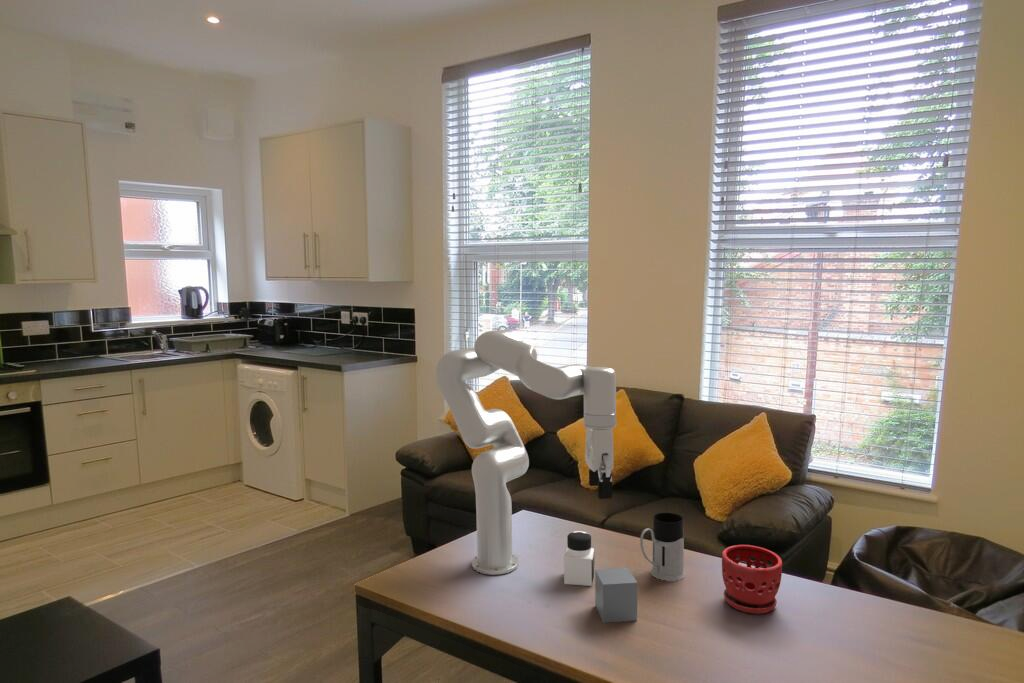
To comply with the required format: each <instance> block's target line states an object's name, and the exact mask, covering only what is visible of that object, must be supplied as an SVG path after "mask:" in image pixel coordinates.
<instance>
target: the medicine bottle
mask: <svg viewBox="0 0 1024 683" xmlns="http://www.w3.org/2000/svg"><path fill="white" fill-rule="evenodd" d="M566 537H567V542H566V543H567V547H566V549H565V552H564V557H563V583H564V585H570V586H571V585H572V586H587V587H592V586H593V584H594V578H595V548H593V547H592V535H591V534H590V533H588V532H587V531H584V530H583V531H581V530H575V531H572V532H570V533H569V534H567V536H566Z"/></svg>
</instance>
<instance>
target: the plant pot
mask: <svg viewBox="0 0 1024 683" xmlns="http://www.w3.org/2000/svg"><path fill="white" fill-rule="evenodd" d="M721 554H722V555H721V573H722V579H723V583H724V587H725V589H724V590H723V597H724V598H723V599H724V600H725V601H726V602H727V604H728V605H730V606H731V607H732V608H734V609H736V610H739V611H740V612H745V613H748V614H756V615H757V614H766V613H769V612H771V611H772V610H774V609H775V608H776V606H777V603H778V602H777V598H776V596H777V593H778V592H779V590H780V586H781V582H782V581H781V580H782V574H783V560H782V558H781V557H780V556H779V555H778V554H777V553H776V552H773V551H772V550H769V549H767V548H764V547H761V546H758V545H757V546H756V545H750V544H737V545H736V544H735V545H731V546H728V547H726V548H724V550H723V551H722V553H721ZM737 556H738V557H737ZM751 557H754V558H755V559H754V560H751ZM761 559H762V560H763V561H761ZM768 561H770V563H771V565H772V566H770V567H769V566H768ZM740 562H745V563H746V565H742V564H739V563H740ZM752 565H754V567H752ZM760 567H762V568H760Z"/></svg>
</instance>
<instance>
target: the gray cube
mask: <svg viewBox="0 0 1024 683" xmlns="http://www.w3.org/2000/svg"><path fill="white" fill-rule="evenodd" d="M594 578H595V580H594V581H595V582H594V583H595V584H594V586H595V591H594V592H595V595H594V596H595V607H596V610H597V613H598V615H599V617H600V619H601V621H602V623H603V624H604V623H605V624H607V623H620V622H621V623H623V621H624V622H637V621H638V581H637V580H636V578H635V577H634V576H633V574H632V572H631V571H630V569H629V568H628V567H618V568H617V567H616V568H600V569H594ZM636 620H637V621H636Z"/></svg>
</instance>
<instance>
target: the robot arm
mask: <svg viewBox="0 0 1024 683" xmlns="http://www.w3.org/2000/svg"><path fill="white" fill-rule="evenodd" d="M537 358H538V353H537V350H536V348H535V347H534V346H533V345H530V344H528V343H526V342H524V341H523V339H522V337H521V335H520V334H519V333H517V332H516V331H514V330H512V329H499V330H498V329H497V330H490V331H485V332H483V333H481V334H480V335H479V336H478V337H477V338H476V339H475V341H474V346H473V347H469V348H462V349H455V350H451V351H448V352H446V353H445V354H443V355H442V356H441V357H440V358H439V359H438V361H437V363H436V366H435V370H434V373H435V374H434V375H435V376H434V377H435V382H436V386H437V388H438V390H439V393H440V394H441V395H442V397H443V399H444V400H445V403H446V404H447V406H448V408H449V410H450V413H451V416H452V417H453V419H454V422H455V424H456V427H457V429H458V432H459V433H460V435H461V438H462V440H463V442H464V443H465V444H466V446H467V447H469V448H470V449H474V450H475V449H481V448H484V447H488V446H491V445H492V446H493V448H491V449H487V450H485V451H482V453H480V454H478V455H477V456H476V457H475V459H473V462H472V464H471V475H472V480H473V484H474V492H475V510H476V512H475V513H476V556H475V557H474V558H472V560H471V567H473V568H472V569H473V570H476V572H477V573H479V572H480V574H483V575H490V576H495V575H496V576H497V575H504V574H508V573H511V572H513V571H515V570H516V569H517V568H518V566H519V559H518V557H517V556H515V555H514V554H513V513H512V512H513V510H512V509H513V508H512V505H513V504H512V497H511V494H510V492H509V489H508V488H507V483H508V482H510V481H514V480H515V479H517V478H520V477H522V476H523V475H525V474H526V472H527V471H528V468H529V466H530V458H529V455H528V451H527V450H526V446H525V444H524V443H523V441H522V438H521V436H520V434H519V432H518V430H517V428H516V425H515V424H514V421H513V420H512V418H511V417H510V415H509V414H508V413H507V412H505V411H504V410H502V409H499V408H490V409H485V407H484V406H483V404H482V402H481V400H480V397H479V396H478V394H477V392H476V391H475V390H474V389H473V388H472V387H471V386H470V384H468V383H467V382H466V381H467V380H473V379H478V378H483V377H487V376H490V375H492V374H494V373H495V372H497V371H499V370H500V369H501V370H503V371H506V372H508V373H509V374H512V375H514V376H516V377H518V379H519V380H520V382H521V383H522V384H523V385H524V387H526V388H527V389H529V390H531V391H532V392H535V393H537V394H539V395H542V396H544V397H546V398H549V399H552V400H564V399H569V398H571V397H576V396H582V395H583V427H584V428H586V429H585V443H584V444H585V448H584V449H585V450H584V460H585V464H586V465H587V466H588V485H589V486H590V487H596V486H597V492H598V493H597V497H598V499H600V500H604V499H606V500H607V499H610V500H611V499H612V498H613V477H612V476H613V473H612V471H613V469H614V461H615V460H614V437H613V435H614V432H613V429H615V428H616V427H617V374H616V370H615V369H613V368H611V367H606V366H594V367H593V366H590V365H585V364H583V363H582V364H581V363H574V364H568V365H562V366H558V367H556V366H552V365H549V364H547V363H544V362H542V361H540V360H538V359H537Z"/></svg>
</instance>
